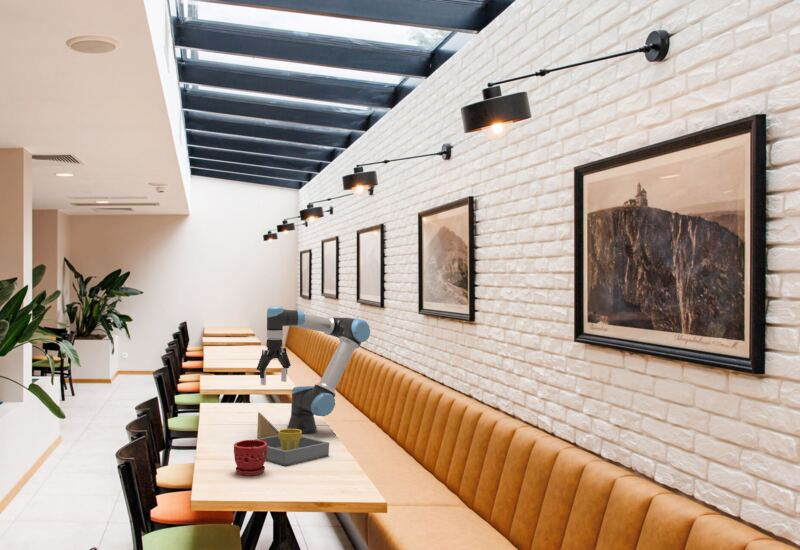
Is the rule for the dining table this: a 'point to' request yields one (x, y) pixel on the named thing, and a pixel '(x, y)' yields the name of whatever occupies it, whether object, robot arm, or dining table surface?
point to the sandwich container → (265, 428)
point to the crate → (295, 451)
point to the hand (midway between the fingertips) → (273, 383)
